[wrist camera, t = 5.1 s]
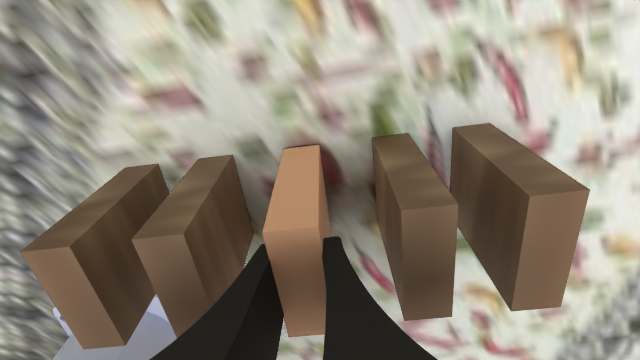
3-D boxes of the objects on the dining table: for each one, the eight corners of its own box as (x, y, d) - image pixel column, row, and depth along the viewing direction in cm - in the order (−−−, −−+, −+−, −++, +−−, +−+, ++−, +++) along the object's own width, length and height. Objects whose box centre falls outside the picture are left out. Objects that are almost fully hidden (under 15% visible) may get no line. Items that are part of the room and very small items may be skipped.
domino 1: (158, 163, 18) (69, 246, 12) (187, 240, 20) (125, 345, 14) (125, 167, 18) (19, 252, 12) (157, 244, 20) (83, 349, 14)
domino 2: (232, 154, 18) (183, 234, 11) (253, 233, 20) (221, 337, 13) (198, 158, 18) (131, 239, 11) (223, 236, 20) (178, 341, 14)
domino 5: (489, 123, 17) (590, 189, 10) (481, 209, 19) (560, 306, 13) (452, 127, 17) (529, 196, 11) (448, 212, 19) (511, 311, 13)
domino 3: (319, 144, 17) (318, 226, 11) (330, 226, 19) (335, 333, 13) (283, 148, 17) (262, 232, 11) (298, 229, 19) (288, 337, 13)
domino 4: (407, 133, 17) (458, 204, 11) (409, 216, 19) (451, 316, 13) (371, 137, 17) (401, 210, 11) (377, 220, 19) (404, 320, 13)
